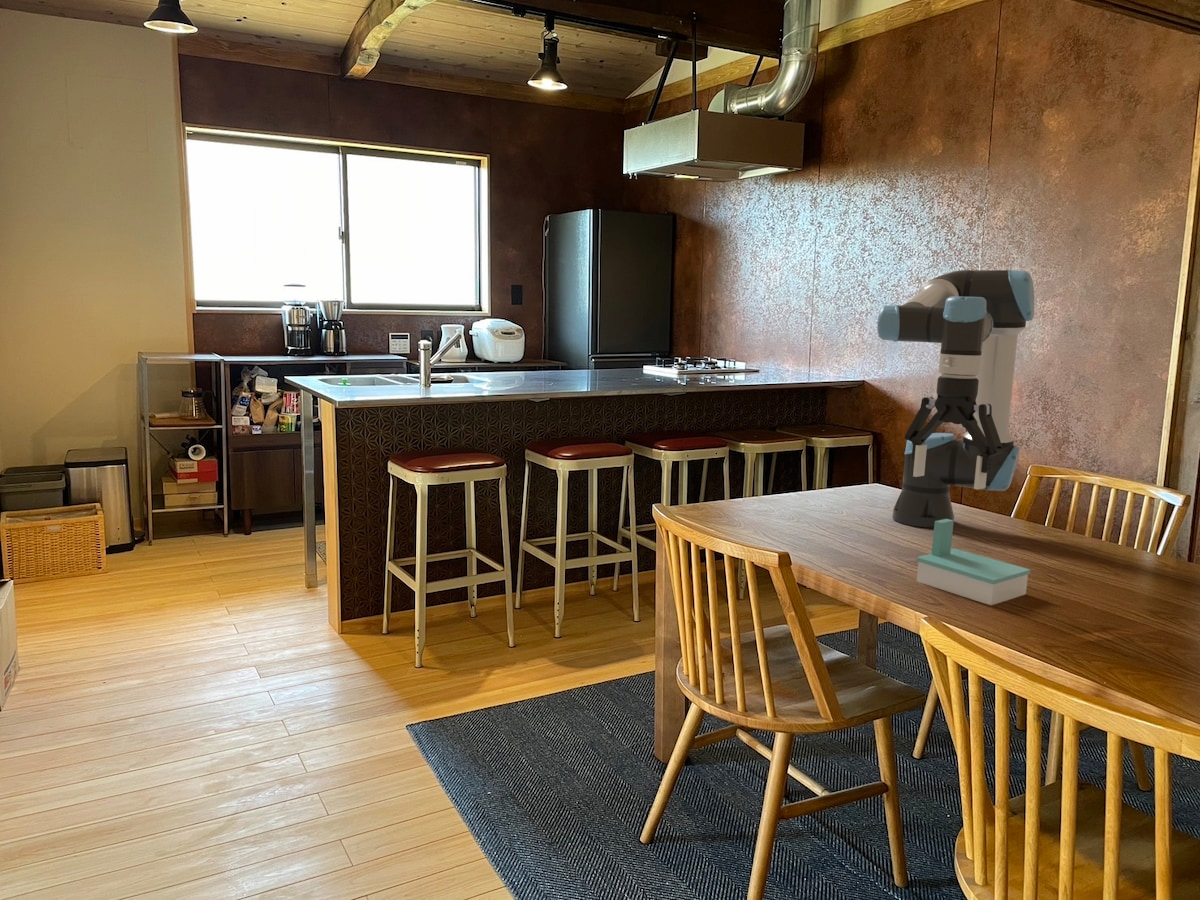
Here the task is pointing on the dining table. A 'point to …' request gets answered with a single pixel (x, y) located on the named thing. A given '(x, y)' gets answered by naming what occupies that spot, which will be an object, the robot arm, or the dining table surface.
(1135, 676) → the dining table surface
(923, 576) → the tub
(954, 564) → the lid
